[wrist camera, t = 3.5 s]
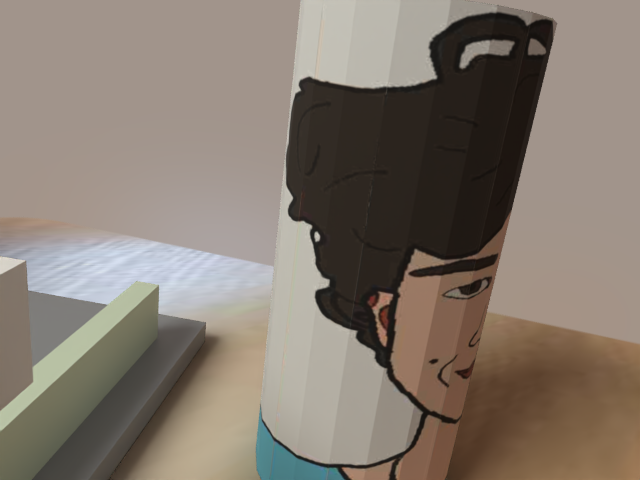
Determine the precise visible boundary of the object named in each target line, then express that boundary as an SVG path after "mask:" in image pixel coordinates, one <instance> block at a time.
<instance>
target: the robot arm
mask: <svg viewBox="0 0 640 480" xmlns="http://www.w3.org/2000/svg"><path fill="white" fill-rule="evenodd" d="M32 383H33V367H32V351H31V334H30V317H29V301H28V284H27V268H26V261H25V260H19V259H13V258H7V257H1V256H0V411H1V410H2V409H3V408H4V407H6V406H7V405H8V404H9V403H10V402H11V401H12V400H13V399H15V398H16V397H17V396H18V395H19V394H20V393H21V392H23V391H24V390H25V389H26V388H27V387H28V386H29V385H30V384H32Z"/></svg>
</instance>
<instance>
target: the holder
mask: <svg viewBox="0 0 640 480" xmlns="http://www.w3.org/2000/svg"><path fill="white" fill-rule="evenodd" d="M28 301H29V317H30V334H31V351H32V367H33V383H32V384H30V385H29V386H28V387H27V388H26V389H25V390H24V391H23V392H21V393H20V394H19V395H18V396H17V397H16V398H15V399H13V400H12V401H11V402H10V403H9V404H8V405H7V406H6V407H4V408H3V409H2V410H1V411H0V480H108V479H109V477H110V476H111V474H112V473H113V471H114V470H115V469H116V467H117V466H118V464H119V463H120V461H121V460H122V459H123V457H124V456H125V454H126V453H127V451H128V450H129V449H130V447H131V446H132V444H133V443H134V441H135V440H136V439H137V437H138V436H139V434H140V433H141V432H142V430H143V429H144V427H145V426H146V424H147V423H148V422H149V420H150V419H151V417H152V416H153V414H154V413H155V412H156V410H157V409H158V407H159V406H160V404H161V403H162V402H163V400H164V399H165V397H166V396H167V394H168V393H169V392H170V390H171V389H172V387H173V386H174V384H175V383H176V382H177V380H178V379H179V377H180V376H181V375H182V373H183V372H184V370H185V369H186V367H187V366H188V365H189V363H190V362H191V360H192V359H193V357H194V356H195V355H196V353H197V352H198V350H199V349H200V347H201V346H202V345H203V343H204V342H205V330H206V322H200V321H195V320H189V319H183V318H178V317H172V316H167V315H161V314H158V302H159V285H155V284H150V283H144V282H138V281H136V282H135V283H134V284H132V285H131V286H130V287H129V288H128V289H126V290H125V291H124V292H123V293H122V294H120V295H119V296H118V297H117V298H116V299H114V300H113V301H112V302H111V303H110V304H108V305H105V304H100V303H94V302H89V301H83V300H77V299H72V298H66V297H61V296H55V295H49V294H44V293H38V292H33V291H28Z"/></svg>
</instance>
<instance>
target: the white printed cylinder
mask: <svg viewBox="0 0 640 480" xmlns="http://www.w3.org/2000/svg"><path fill="white" fill-rule="evenodd" d="M556 25H557V23H556V22H555V20H554V19H552V18H549V17H546V16H543V15H540V14H536V13H533V12H528V11H523V10H518V9H514V8H509V7H504V6H499V5H492V4H486V3H479V2H473V1H466V0H301V3H300V13H299V24H298V33H297V44H296V54H295V64H294V73H293V84H292V93H291V104H290V113H289V124H288V133H287V144H286V154H285V163H284V173H283V184H282V194H281V204H280V214H279V223H278V234H277V244H276V254H275V264H274V273H273V284H272V294H271V304H270V314H269V324H268V334H267V344H266V354H265V364H264V374H263V384H262V394H261V404H260V414H259V424H258V434H257V444H256V461H257V471H258V473H259V476H260V478H261V480H446V477H447V473H448V469H449V464H450V460H451V456H452V452H453V448H454V444H455V440H456V436H457V432H458V428H459V423H460V419H461V415H462V411H463V407H464V403H465V399H466V395H467V391H468V387H469V382H470V378H471V374H472V370H473V366H474V362H475V358H476V354H477V350H478V346H479V341H480V337H481V333H482V329H483V325H484V321H485V317H486V313H487V309H488V305H489V300H490V296H491V292H492V288H493V284H494V280H495V276H496V271H497V268H498V263H499V259H500V255H501V251H502V247H503V243H504V239H505V235H506V230H507V226H508V222H509V218H510V214H511V210H512V206H513V202H514V198H515V194H516V190H517V186H518V181H519V177H520V173H521V169H522V165H523V161H524V157H525V153H526V148H527V145H528V141H529V136H530V132H531V128H532V124H533V120H534V116H535V112H536V108H537V104H538V100H539V95H540V91H541V87H542V83H543V79H544V75H545V71H546V67H547V63H548V59H549V55H550V50H551V46H552V42H553V38H554V33H555V30H556Z"/></svg>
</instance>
